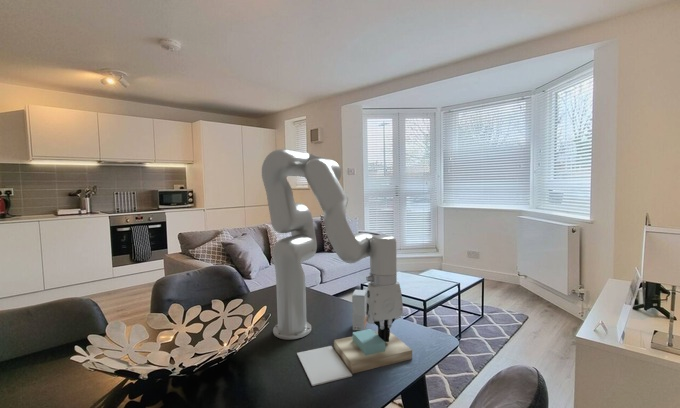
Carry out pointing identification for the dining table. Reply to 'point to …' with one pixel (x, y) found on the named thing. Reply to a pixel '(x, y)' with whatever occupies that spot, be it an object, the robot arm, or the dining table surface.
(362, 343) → the tile
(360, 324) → the skincare box
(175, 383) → the dining table surface
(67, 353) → the dining table surface
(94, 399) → the dining table surface
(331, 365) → the mat
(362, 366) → the beige brown rectangular slab
